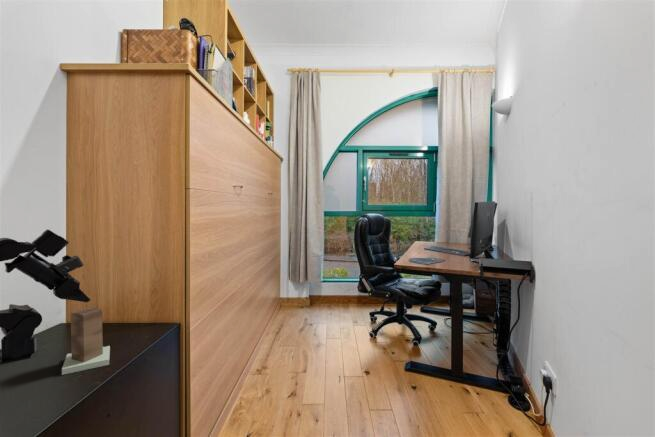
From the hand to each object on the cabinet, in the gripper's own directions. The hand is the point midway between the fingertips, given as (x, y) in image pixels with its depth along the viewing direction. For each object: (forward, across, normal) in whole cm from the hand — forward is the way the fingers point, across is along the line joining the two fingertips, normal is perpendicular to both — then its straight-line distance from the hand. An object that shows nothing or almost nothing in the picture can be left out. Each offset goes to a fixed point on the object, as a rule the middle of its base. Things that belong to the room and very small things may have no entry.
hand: (85, 298), depth 103 cm
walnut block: (+6, -19, +11) cm, 22 cm away
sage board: (+7, -19, +12) cm, 23 cm away
